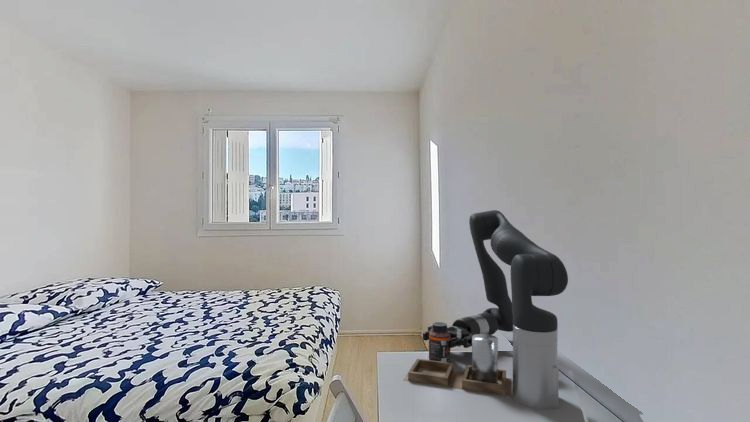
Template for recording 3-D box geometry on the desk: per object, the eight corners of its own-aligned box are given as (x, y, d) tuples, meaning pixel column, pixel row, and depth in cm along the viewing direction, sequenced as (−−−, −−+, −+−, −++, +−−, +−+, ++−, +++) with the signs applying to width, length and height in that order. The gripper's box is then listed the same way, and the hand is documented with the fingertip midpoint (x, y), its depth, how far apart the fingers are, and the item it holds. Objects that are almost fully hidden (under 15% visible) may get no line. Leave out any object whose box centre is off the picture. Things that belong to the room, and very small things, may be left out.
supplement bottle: (450, 369, 106) (450, 327, 106) (428, 367, 108) (428, 326, 108) (450, 361, 112) (450, 321, 112) (429, 359, 113) (429, 320, 113)
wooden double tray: (511, 383, 98) (511, 370, 98) (510, 401, 88) (510, 387, 88) (413, 369, 106) (413, 357, 106) (403, 384, 97) (403, 371, 97)
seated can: (498, 380, 97) (498, 335, 97) (497, 390, 91) (497, 343, 91) (473, 376, 99) (473, 332, 99) (470, 386, 93) (470, 340, 93)
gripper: (452, 312, 125) (416, 321, 114) (491, 321, 114) (455, 333, 103) (452, 335, 125) (416, 347, 114) (491, 347, 114) (455, 361, 103)
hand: (435, 340), depth 109 cm, fingers open, 8 cm apart
